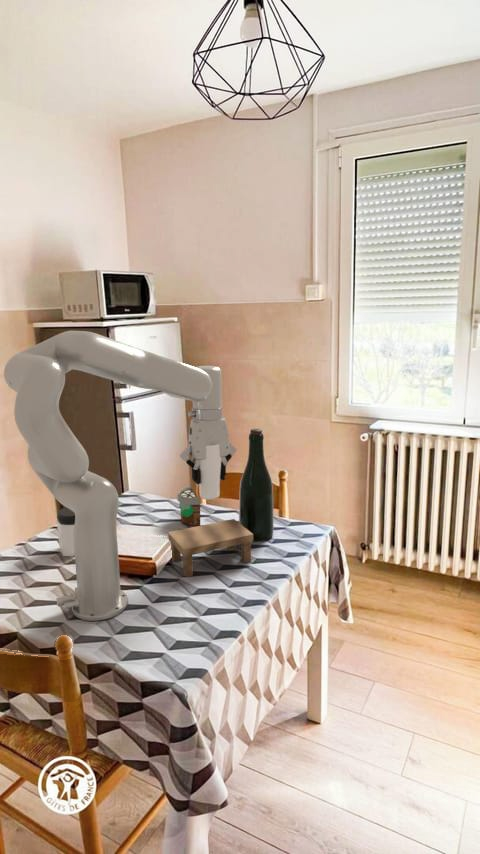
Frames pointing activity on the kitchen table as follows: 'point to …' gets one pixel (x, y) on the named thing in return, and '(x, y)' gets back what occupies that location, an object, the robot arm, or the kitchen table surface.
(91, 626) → the kitchen table surface
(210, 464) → the drinking glass
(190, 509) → the food container
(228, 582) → the kitchen table surface
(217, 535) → the footstool
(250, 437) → the dark green wine bottle
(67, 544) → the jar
